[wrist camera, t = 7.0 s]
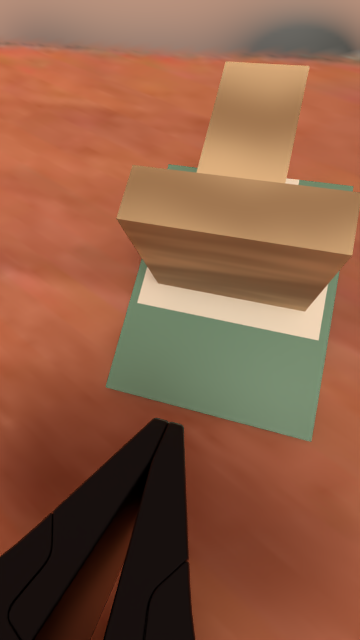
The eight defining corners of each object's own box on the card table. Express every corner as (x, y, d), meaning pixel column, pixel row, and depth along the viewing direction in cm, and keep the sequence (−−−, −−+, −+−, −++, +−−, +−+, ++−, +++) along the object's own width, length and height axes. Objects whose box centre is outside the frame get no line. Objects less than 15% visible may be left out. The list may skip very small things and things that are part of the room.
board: (309, 440, 18) (311, 441, 18) (108, 387, 21) (105, 387, 20) (350, 191, 21) (353, 186, 21) (169, 169, 24) (168, 164, 23)
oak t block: (304, 311, 20) (352, 255, 12) (158, 283, 21) (116, 218, 14) (326, 190, 21) (381, 70, 13) (187, 173, 23) (165, 58, 15)
